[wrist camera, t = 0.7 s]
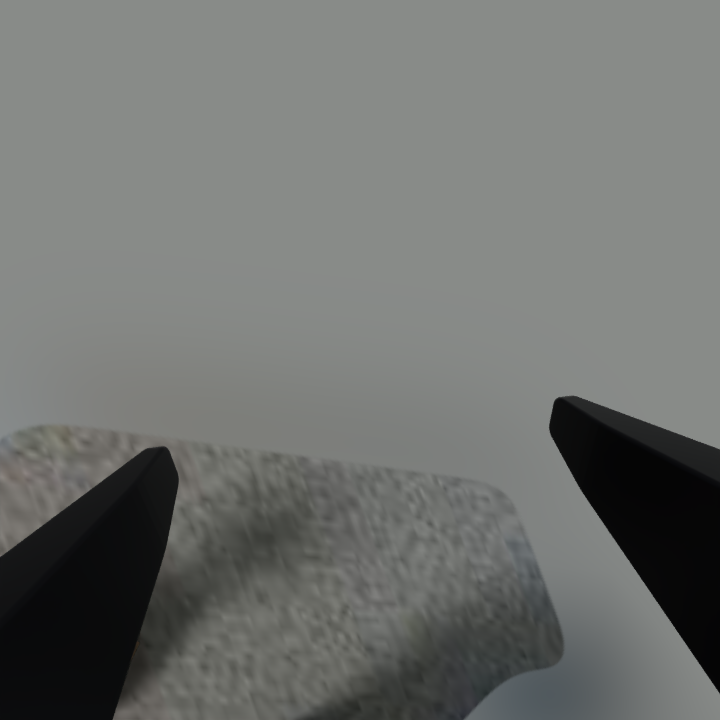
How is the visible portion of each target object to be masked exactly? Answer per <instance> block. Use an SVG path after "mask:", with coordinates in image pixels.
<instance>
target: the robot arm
mask: <svg viewBox="0 0 720 720" xmlns="http://www.w3.org/2000/svg"><path fill="white" fill-rule="evenodd" d="M549 430H550V434H551V436H552V438H553V440H554V442H555V444H556V446H557V447H558V449H559V451H560V453H561V455H562V457H563V458H564V460H565V462H566V464H567V466H568V468H569V469H570V471H571V473H572V475H573V477H574V479H575V481H576V482H577V484H578V486H579V487H580V489H581V491H582V492H583V494H584V495H585V497H586V498H587V500H588V501H589V503H590V504H591V506H592V507H593V509H594V510H595V512H596V513H597V515H598V516H599V518H600V519H601V520H602V522H603V523H604V525H605V526H606V528H607V529H608V531H609V532H610V534H611V535H612V537H613V538H614V539H615V541H616V542H617V544H618V545H619V547H620V548H621V550H622V551H623V552H624V554H625V556H626V557H627V559H628V560H629V561H630V563H631V564H632V566H633V567H634V569H635V570H636V572H637V573H638V575H639V576H640V577H641V579H642V580H643V582H644V583H645V585H646V586H647V588H648V589H649V591H650V592H651V594H652V595H653V597H654V598H655V599H656V601H657V602H658V604H659V605H660V607H661V608H662V610H663V611H664V613H665V614H666V616H667V617H668V619H669V620H670V621H671V623H672V624H673V626H674V627H675V629H676V630H677V632H678V633H679V635H680V636H681V638H682V639H683V640H684V642H685V643H686V645H687V646H688V648H689V649H690V651H691V652H692V654H693V655H694V657H695V658H696V659H697V661H698V662H699V664H700V665H701V667H702V668H703V670H704V671H705V673H706V674H707V676H708V677H709V679H710V680H711V681H712V683H713V684H714V686H715V687H716V689H717V690H718V692H719V693H720V449H717V448H715V447H712V446H709V445H706V444H704V443H701V442H698V441H695V440H693V439H690V438H687V437H685V436H682V435H679V434H677V433H674V432H671V431H669V430H666V429H663V428H661V427H658V426H655V425H652V424H650V423H647V422H644V421H642V420H639V419H636V418H633V417H630V416H628V415H625V414H622V413H620V412H617V411H614V410H612V409H609V408H606V407H604V406H601V405H598V404H595V403H593V402H590V401H588V400H585V399H582V398H579V397H577V396H565V397H559V398H557V399H556V400H555V401H554V404H553V409H552V414H551V419H550V424H549ZM178 484H179V478H178V473H177V470H176V467H175V465H174V462H173V459H172V457H171V454H170V452H169V450H168V448H166V447H164V446H162V447H153V448H147V449H145V450H143V451H142V452H141V453H139V454H138V455H137V456H135V457H134V458H133V459H131V460H130V461H129V462H127V463H126V464H125V465H123V466H122V467H121V468H119V469H118V470H116V471H115V472H114V473H112V474H111V475H110V476H108V477H107V478H106V479H104V480H103V481H102V482H100V483H99V484H98V485H96V486H95V487H94V488H92V489H91V490H90V491H88V492H87V493H86V494H84V495H83V496H82V497H80V498H79V499H78V500H76V501H75V502H74V503H72V504H71V505H70V506H68V507H67V508H65V509H64V510H63V511H61V512H60V513H59V514H57V515H56V516H55V517H53V518H52V519H51V520H49V521H48V522H47V523H45V524H44V525H43V526H41V527H40V528H39V529H37V530H36V531H35V532H33V533H32V534H31V535H29V536H28V537H27V538H25V539H24V540H23V541H21V542H20V543H19V544H17V545H16V546H14V547H13V548H12V549H10V550H9V551H8V552H6V553H5V554H4V555H2V556H1V557H0V720H113V717H114V713H115V710H116V707H117V704H118V701H119V697H120V694H121V691H122V688H123V685H124V681H125V678H126V675H127V672H128V669H129V665H130V662H131V659H132V656H133V653H134V650H135V646H136V643H137V640H138V637H139V634H140V630H141V627H142V624H143V621H144V618H145V614H146V611H147V608H148V605H149V602H150V598H151V595H152V592H153V589H154V586H155V582H156V579H157V576H158V573H159V570H160V567H161V563H162V560H163V557H164V553H165V550H166V545H167V541H168V536H169V531H170V525H171V520H172V515H173V510H174V505H175V500H176V494H177V489H178Z"/></svg>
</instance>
